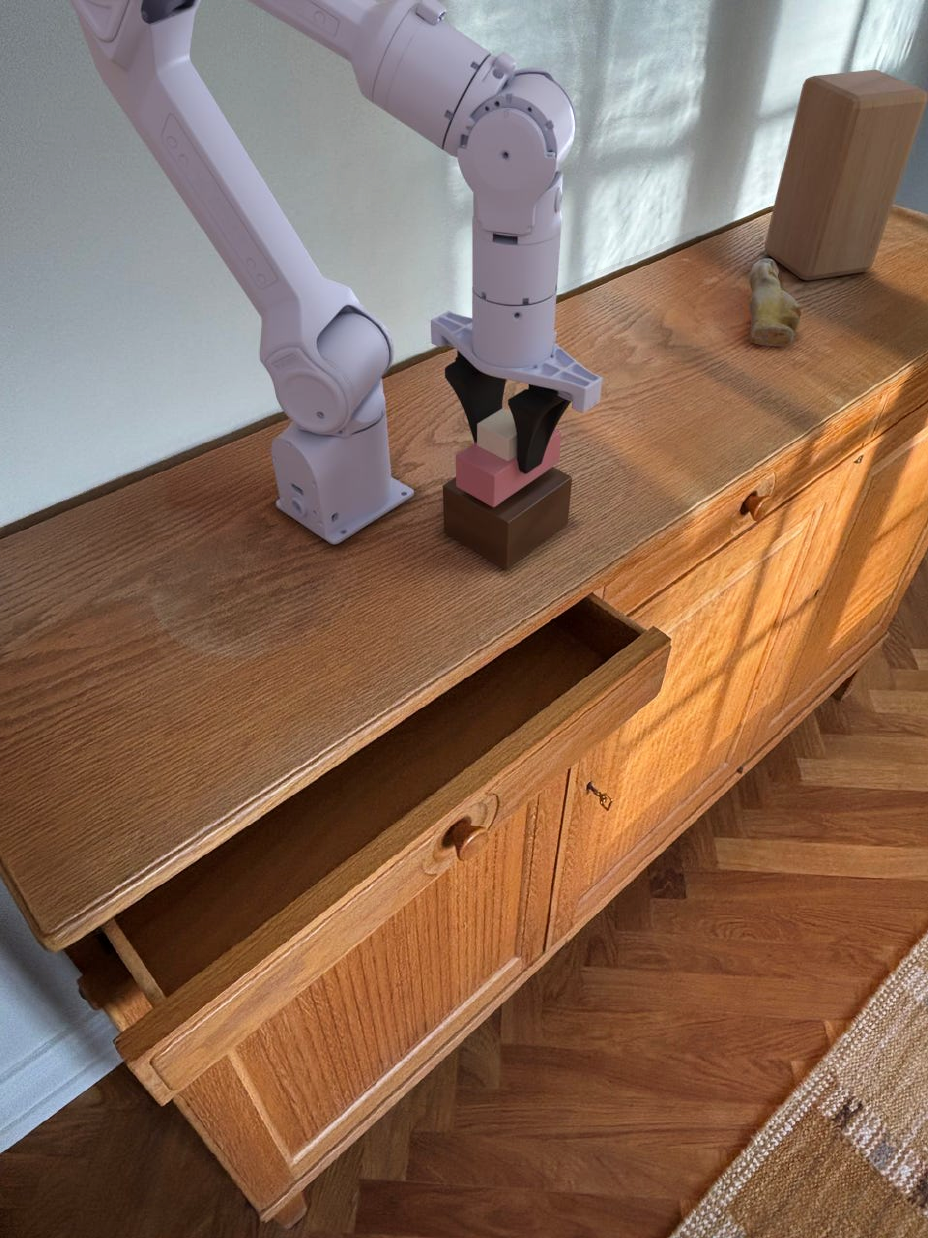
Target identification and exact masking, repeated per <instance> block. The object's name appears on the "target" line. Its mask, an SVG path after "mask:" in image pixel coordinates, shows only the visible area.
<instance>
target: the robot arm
mask: <svg viewBox="0 0 928 1238" xmlns="http://www.w3.org/2000/svg"><path fill="white" fill-rule="evenodd" d="M201 1H202V0H68V2H69V4H70V5H71V6H72V8H73V9H74V11H75V13H76V16H77V19H78V20H79V24H80V27H81V31H82V33H83V36H84V38H85V41H86V45H87V47H88V50H89V53H90V55H91V59H92V61H93V64H94V67H95V69H96V71H97V73H98V74H99V76H100V78H101V80H102V81H103V84H104V85H105V86H106V89H108V91H109V93H110V94H111V95H112V97H113V98H114V100H115V102H116V103H117V104H118V106H119V108H120V109H121V111H122V112H123V113H124V114H125V116H126V119H128V121H129V122H130V123H131V125H132V127H133V128H134V129H135V131H136V133H137V135H139V137H140V138H141V140H142V142H143V143H144V144H145V146H146V148H147V149H148V151H149V152H150V153H151V155H152V157H153V158H154V160H155V162H156V163H157V164H158V165H159V167H160V168H161V170H162V171H163V173H164V175H165V176H166V177H167V179H168V180H169V183H171V185H172V186H173V188H174V189H175V191H176V192H177V194H178V196H179V197H180V199H181V200H182V202H184V204H185V205H186V207H187V209H188V211H189V212H190V214H191V215H192V216H193V217H194V220H195V221H196V222H197V224H198V225H199V227H200V228H201V230H202V231H203V232H204V234H205V236H206V237H207V239H208V240H209V241H210V243H211V244H212V246H213V248H214V249H215V251H216V252H217V253H218V255H219V257H220V258H221V260H222V261H223V262H224V264H225V266H226V267H227V269H228V270H229V271H230V274H231V275H232V276H233V278H234V279H235V280H236V282H237V283H238V285H239V286H240V288H241V289H242V291H243V292H244V294H245V295H246V297H247V298H248V300H249V302H250V303H251V304H252V306H253V307H254V309H255V310H256V312H257V313H258V315H259V316H260V319H261V330H260V340H259V361H260V363H261V364H262V366H263V367H264V368H265V370H266V372H267V373H268V375H269V377H270V379H271V382H272V384H273V389H274V394H275V397H276V400H277V403H278V405H279V406H280V408H281V410H282V411H283V413H284V414H285V415H286V416H287V417H288V419H289V420H291V422H290V423H289V425H288V426H287V427H286V428H285V429H284V430H283V431H282V432H281V433H280V434H278V435H277V436H276V437H275V438H274V439H273V440H272V442H271V444H270V457H271V461H272V467H273V472H274V476H275V483H276V487H277V492H278V497H279V499H277V500H276V502H275V506H276V508H277V509H279V510H280V511H282V512H283V513H285V514H286V515H288V516H289V517H291V518H292V519H294V520H295V521H296V522H298V523H299V524H301V525H303V526H304V527H305V528H307V529H308V530H310V531H311V532H313V533H314V534H316V535H317V536H319V537H321V538H322V539H323V540H324V541H326V542H328V543H329V544H331V545H338V544H341V542H344V541H345V540H347V539H348V538H350V537H352V536H353V535H354V534H356V533H358V532H359V531H360V530H362V529H364V528H365V527H366V526H368V525H370V524H371V523H373V522H374V521H377V520H378V519H379V518H381V517H383V516H384V515H386V514H388V513H389V512H390V511H392V510H393V509H396V508H397V507H398V506H400V505H401V504H403V503H405V502H406V501H408V500H410V499H411V498H413V497H414V495H415V491H414V489H413V488H412V487H409V486H408V485H406V484H404V483H403V482H401V481H400V480H398V479H396V478H394V477H393V476H392V466H391V456H390V455H391V454H390V443H389V431H388V419H387V407H386V397H385V394H384V387H383V377H384V375H386V373H387V372H388V371H389V370H390V369H391V367H392V364H393V361H394V358H395V347H394V342H393V339H392V336H391V334H390V332H389V330H388V329H387V327H386V326H385V324H384V323H383V322H382V321H381V320H380V318H378V317H377V316H376V315H374V314H373V313H372V312H370V311H369V310H368V309H366V307H365V306H363V304H362V303H361V302H360V300H358V298H357V296H356V295H355V293H354V291H353V290H352V288H351V287H349V286H347V285H345V284H342V283H340V282H337V281H334V280H331V279H328V278H327V277H324V276H323V275H322V273H321V272H320V270H319V268H318V267H317V265H316V263H315V261H314V260H313V259H312V257H311V255H310V254H309V252H308V250H307V249H306V247H305V245H304V243H303V242H302V241H301V239H300V237H299V236H298V234H297V233H296V231H295V229H294V228H293V226H292V224H291V223H290V221H289V219H288V218H287V216H286V214H285V213H284V212H283V209H282V208H281V206H280V205H279V202H277V200H276V198H275V197H274V195H273V193H272V192H271V190H270V189H269V187H268V185H267V184H266V182H265V181H264V178H263V177H262V175H261V173H260V172H259V171H258V169H257V167H256V165H255V164H254V162H253V160H252V159H251V158H250V156H249V154H248V152H247V151H246V149H245V148H244V146H243V144H242V143H241V141H240V139H239V138H238V135H236V133H235V131H234V129H233V128H232V126H231V125H230V123H229V121H228V120H227V118H226V117H225V115H224V113H223V112H222V110H221V109H220V107H219V105H218V103H217V102H216V101H215V98H214V97H213V95H212V93H211V92H210V91H209V89H208V87H207V86H206V84H205V83H204V81H203V79H202V78H201V76H200V74H199V73H198V71H197V69H196V67H195V66H194V65H193V62H192V60H191V56H190V53H191V45H192V38H193V31H194V23H195V15H196V13H197V11H198V8H199V6H200V4H201ZM246 1H247V2H249V3H251V4H253V5H254V6H256V7H257V8H259V9H261V10H262V11H264V12H266V13H268V14H269V15H270V16H273V17H275V18H276V19H277V20H279V21H281V22H283V23H285V24H286V25H287V26H289V27H291V28H293V29H294V30H296V31H298V32H299V33H301V34H302V35H304V36H306V37H308V38H309V39H311V40H313V41H315V42H316V43H318V44H320V45H321V46H323V47H324V48H326V49H328V50H330V51H331V52H333V53H334V54H336V55H338V56H340V57H341V58H343V59H345V60H346V61H348V62H349V63H350V65H351V67H352V69H353V73H354V76H355V79H356V82H357V83H356V84H357V86H358V89H359V91H360V93H361V95H362V97H364V98H365V99H366V100H368V101H369V102H371V103H372V104H374V105H375V106H376V107H378V108H379V109H381V110H383V112H386V113H387V114H388V115H390V116H392V117H393V118H395V119H396V120H398V121H399V122H401V124H404V125H405V126H406V127H408V128H409V129H411V130H412V131H414V132H415V133H416V134H418V135H420V136H421V137H423V138H424V139H426V140H427V141H429V142H430V143H432V144H433V145H435V146H436V147H438V148H440V149H441V150H442V151H444V152H445V153H446V154H448V155H449V156H452V157H453V158H457V163H458V166H459V170H460V172H461V175H462V177H463V179H464V181H465V183H466V184H467V186H468V187H469V188H470V190H471V191H472V209H473V210H472V211H473V212H472V213H473V214H472V218H471V230H472V231H471V232H472V233H471V234H472V235H471V237H472V238H471V241H472V243H471V245H472V246H471V247H472V248H471V249H472V250H471V253H472V266H471V268H472V270H471V272H472V277H471V278H472V281H471V282H472V283H471V284H472V285H471V287H472V288H471V307H472V308H471V317H469V316H465V315H460V314H457V313H455V312H452V311H450V310H447V311H446V312H444V313H442V314H440V315H438V316H436V317H433V318H431V319H430V337H431V338H430V343H431V344H432V345H434V346H436V347H438V348H443V347H446V346H449V347H451V348H452V349H455V350H456V357H455V358H454V360H455V361H453V362H451V363H449V364H448V365H446V366H445V368H444V379H445V380H446V381H447V382H448V384H449V385H450V386H451V388H452V390H453V391H454V393H455V395H456V397H457V398H458V400H459V402H460V404H461V407H462V409H463V412H464V414H465V418H466V420H467V423H468V426H469V429H470V433H471V437H472V441H473V444H474V443H476V442H477V424H478V423H479V422H481V421H483V420H484V419H486V418H488V417H489V416H491V415H492V414H494V413H496V412H497V411H499V410H501V409H502V408H503V401H504V394H505V388H506V384H507V380H508V381H514V382H518V383H522V384H526V385H528V387H527V388H525V389H523V390H522V391H520V392H518V393H517V394H515V395H513V396H512V397H510V398H508V399H507V406H508V407H509V411H510V412H512V415H513V419H514V422H515V427H516V433H517V461H518V466H519V471H521V472H523V473H524V474H527V473H529V472H530V471H532V470H533V469H534V468H536V467H537V466H539V465H540V464H542V461H543V458H544V454H545V451H546V449H547V446H548V443H549V441H550V438H551V436H552V433H553V431H554V429H555V428H556V427H557V425H558V423H559V422H560V420H561V418H562V416H563V415H564V413H565V412H566V410H567V409H568V408H569V406H570V405H571V408H572V409H573V410H574V411H576V412H578V413H581V414H584V413H586V412H587V411H589V410H592V408H594V407H595V406H597V405H598V404H600V403H601V397H602V390H603V389H602V388H603V380H604V378H603V376H600V375H598V374H596V373H594V372H592V371H590V370H589V369H587V368H586V367H584V365H582V364H581V363H580V362H579V361H577V359H575V358H574V357H572V355H570V353H568V352H567V351H565V350H564V349H563V348H562V347H561V346H560V345H558V344H557V343H556V341H557V331H556V330H555V323H556V322H555V321H556V307H557V295H558V293H557V292H558V281H559V279H558V278H559V265H560V251H561V250H560V249H561V236H562V227H563V225H562V223H563V219H562V212H561V210H562V209H561V208H562V202H563V180H564V173H563V172H562V171H559V168H560V167H561V166H562V164H563V163H564V161H565V160H566V159H567V157H568V155H569V153H570V152H571V149H572V147H573V144H574V141H575V138H576V133H577V115H576V110H575V106H574V103H573V101H572V98H571V96H570V95H569V93H568V91H567V90H566V89H565V87H564V86H563V85H562V84H561V83H560V82H558V81H557V80H556V79H555V78H554V76H553V74H552V73H551V72H550V71H549V70H547V69H544V68H541V67H523V68H519V69H515V68H516V66H517V60H516V59H515V58H513V57H512V56H511V55H509V54H508V53H506V52H505V51H502V52H501V53H499V54H498V55H497V56H496V55H495V54H493V53H492V52H490V51H489V50H487V49H486V48H484V47H483V46H482V45H481V44H479V43H478V42H476V41H474V40H473V39H472V38H470V37H469V36H468V35H466V34H464V33H463V32H461V30H459V29H457V28H456V27H454V26H453V25H451V24H450V23H448V22H447V21H446V20H445V16H446V15H447V10H448V9H447V7H446V6H445V5H444V4H443V3H441V2H439V1H438V0H420V1H419V2H418V1H417V0H387V1H386V2H377V1H376V0H246Z"/></svg>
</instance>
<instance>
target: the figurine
mask: <svg viewBox="0 0 928 1238" xmlns="http://www.w3.org/2000/svg"><path fill="white" fill-rule="evenodd" d="M780 270H781V269H779V267H778V265H777V263H776V262H775V259H772V258H766V257H765V258H762V259H759V260H757V261H756V262H755V263H754V264H753V266H752V267H751V270H750V273H749V286H750V290H751V294H752V296H751V299H750V302H749V311H750V312H749V313H750V318H751V325H750V331H749V338H748V339H749V342H750V343H752V344H755V345H759V346H767V347H786V346H789V345H790V344H791V343H792V342H793V340H794V338H795V335H796V334H797V331H798V329H799V326H800V322H801V317H802V309H801V306H800V305H799V303H798V302H797V301H796V299H795V298H794V297H793V296H791V294H789V293H788V292H786V291H784V290H783V289H782V287H781V282H780V279H779V273H780V272H781V271H780Z"/></svg>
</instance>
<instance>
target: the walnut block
mask: <svg viewBox="0 0 928 1238" xmlns="http://www.w3.org/2000/svg"><path fill="white" fill-rule="evenodd" d="M572 486H573V476H572V475H570V474H568V473H566V472H564V471H563V470H560V469H558V468H556V467H555V466H553V467H552V468H550V469H549V470H547V471H546V472H545V473H543V474H542V475H540V476H539V477H537V478H536V479H534V480H533V481H532V482H530V483H529V484H527V485H526V486H524V487H523V488H521V489H520V490H518V491H517V492H516V493H514V494H513V495H511V496H510V497H508V498H507V499H505V500H504V501H503V502H501V503H500V504H498V505H497V506H495V507H492V506H490V505H488V504H486V503H485V502H483V501H481V500H479V499H478V498H476V497H474V496H472V495H471V494H469V493H467V492H465V491H463V490H462V489H460V488H458V487H456V476H455V477H453V478H452V479H450V480H449V481H447V482H446V483H444V484H442V513H443V515H442V516H443V533H444V534H445V535H447V536H448V537H450V538H452V540H455V541H456V542H458V543H460V544H461V545H463V546H465V547H466V548H468V549H470V550H471V551H473V552H474V553H476V554H478V555H479V556H481V557H483V558H484V559H486V560H488V561H489V562H492V564H494V565H495V566H497V567H499V568H501V569H502V570H505V571H508V570H510V569H511V568H512V567H513V566H515V565H516V564H517V563H519V562H520V561H521V560H522V559H524V558H525V557H526V556H528V555H529V554H531V553H532V552H533V551H534V550H535V549H537V548H539V547H540V546H541V545H542V544H544V543H545V542H546V541H548V540H549V539H551V538H552V537H553V536H554V535H556V534H557V533H558V532H560V531H561V530H563V529H564V528H565V527H566V526H568V524H569V518H570V517H569V516H570V507H571V504H570V503H571V496H572V495H571V494H572Z"/></svg>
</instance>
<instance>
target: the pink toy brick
mask: <svg viewBox="0 0 928 1238" xmlns="http://www.w3.org/2000/svg"><path fill="white" fill-rule="evenodd" d="M561 442H562V430H560V429H558V428H556V427H555V429H554V431H553V433H552V436H551V438H550V441H549V443H548V446H547V449H546V451H545V454H544V458H543V461H542V464H540V465H539V466H537V467H536V468H534V469H533V470H532V471H530V472H529V473H527V474H524V473H523V472H521V471H519V466H518V461H517V433H516V427H515V422H514V419H513V415H512V412H511V410H508V409H506V408H505V407H502V409H501V410H499V411H497V412H496V413H494V414H492V415H491V416H489V417H488V418H486V419H484V420H483V421H481V422H479V423H478V424H477V442H476V443H474V442H473V443H472V444H471V445H469V446H468V447H466V448H464V449H463V450H461V451H460V452H458V453H457V454H455V477H456V487H458V488H460V489H462V490H463V491H465V492H467V493H469V494H471V495H472V496H474V497H476V498H478V499H479V500H481V501H483V502H485V503H486V504H488V505H490V506H492V507H495V506H497V505H498V504H500V503H501V502H503V501H504V500H505V499H507V498H508V497H510V496H511V495H513V494H514V493H516V492H517V491H518V490H520V489H521V488H523V487H524V486H526V485H527V484H529V483H530V482H532V481H533V480H534V479H536V478H537V477H539V476H540V475H542V474H543V473H545V472H546V471H547V470H549V469H550V468H552V467H555V466H556V465H557V464H559V463H560V455H561Z"/></svg>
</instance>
